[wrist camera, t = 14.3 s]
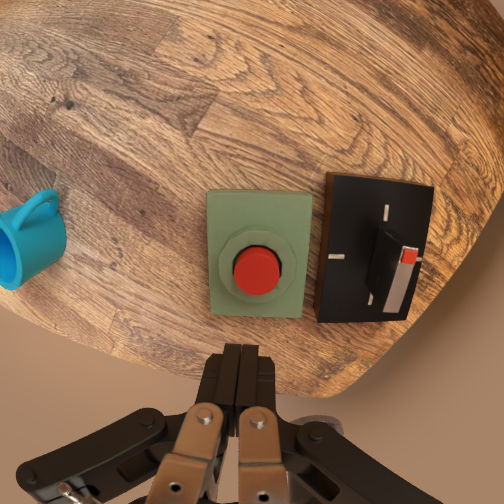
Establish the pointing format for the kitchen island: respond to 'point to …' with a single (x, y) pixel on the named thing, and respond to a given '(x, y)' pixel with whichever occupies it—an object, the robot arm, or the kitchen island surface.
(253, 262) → the button
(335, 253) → the base
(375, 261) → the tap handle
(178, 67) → the kitchen island surface
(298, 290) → the block
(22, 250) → the mug
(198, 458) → the robot arm
